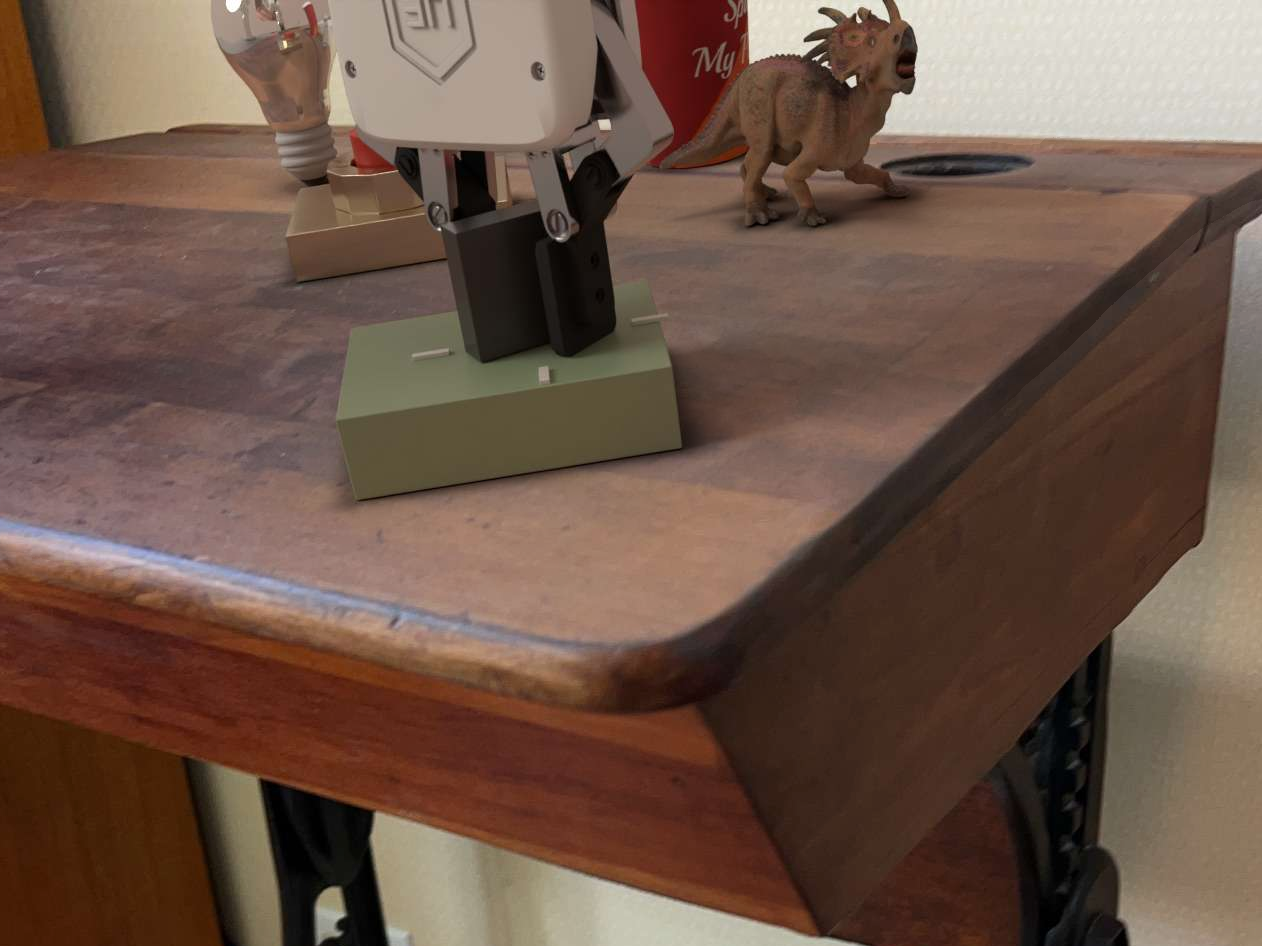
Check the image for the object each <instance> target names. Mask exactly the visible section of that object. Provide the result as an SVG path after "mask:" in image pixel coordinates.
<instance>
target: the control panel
mask: <svg viewBox="0 0 1262 946" xmlns="http://www.w3.org/2000/svg"><path fill="white" fill-rule="evenodd" d="M613 291H614V298H615V313H616V327H615V329H614V331H613V332H612V333H610V334H609V335H607V336H605V337H604V338H602V339H600V340H599V341H597V342H595V343H594V344H592V345H590V346H589V347H587V348H585V349H584V350H582V351H580V352H579V353H577V354H575V355H574V356H571V357H568V356H560V355H557V354H556V353H555V351H554V350H553V349H552V347H551V342H550V343H546V344H543V345H539V346H536V347H533V348H529V349H526V350H523V351H519V352H516V353H512V354H509V355H506V356H502V357H499V358H496V359H492V360H489V361H485V362H482V363H481V362H479V361H478V360H477V359H475V358H474V357H472V356H471V355H470V354H468V353H467V352H466V351H465V346H464V341H463V336H462V331H461V326H460V321H459V316H458V311H457V310H455V311H448V312H441V313H435V314H430V315H424V316H418V317H412V318H404V319H399V320H393V321H386V322H380V323H374V324H367V325H362V326H356V327H351V329H350V333H349V340H348V344H347V350H346V357H345V362H344V363H345V364H344V368H343V372H342V373H343V375H342V380H341V384H340V385H341V387H340V390H339V391H340V392H339V398H338V404H337V410H336V414H335V426H336V428H337V432H338V436H339V440H340V444H341V448H342V451H343V456H344V458H345V459H344V460H345V463H346V467H347V471H348V475H349V479H350V483H351V487H352V490H353V494H354V498H355V500H356V501H359V500H366V499H372V498H379V497H384V496H385V497H386V496H391V495H398V494H403V493H404V494H405V493H409V492H416V491H422V490H429V489H434V488H441V487H448V486H454V485H460V484H466V483H473V482H478V481H479V482H480V481H484V480H485V481H486V480H490V479H498V478H503V477H509V476H516V475H523V474H528V473H535V472H540V471H546V470H547V471H548V470H553V469H559V468H566V467H572V466H579V465H585V464H591V463H598V462H604V461H609V460H617V459H623V458H628V457H635V456H642V455H648V454H654V453H661V452H667V451H671V450H678V449H682V448H683V442H682V436H681V435H682V434H681V426H680V418H679V411H678V410H679V409H678V401H677V395H676V385H675V378H674V377H675V376H674V369H673V363H672V360H671V357H670V353H669V350H668V345H667V343H666V339H665V336H664V332H663V328H662V325H661V322H665V321H669V320H670V316H669V312H664V313H658V310H657V306H656V303H655V299H654V296H653V292H652V289H651V285H650V281H649V280H641V281H640V280H639V281H635V282H628V283H622V284H615V285H613Z"/></svg>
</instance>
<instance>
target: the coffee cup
mask: <svg viewBox="0 0 1262 946" xmlns="http://www.w3.org/2000/svg"><path fill="white" fill-rule="evenodd" d="M634 1H635V8H636V15H637V22H638V30H639V39H640V50H641V63H642V70H643V71H644V73H645V75H646V77H647V79H648V81H649V82H650V84H651V86H652V88H653V90H654V92H655V94H656V95H657V97H658V99H659V101H660V103H661V105H662V106H663V108H664V110H665V112H666V114H667V116H668V117H669V119H670V121H671V123H672V126H673V129H674V137H673V141H672V142H671V143H670V145H669V146H667V147H666V148H665V149H664V150H663V151H661V152H660V153H659V154H658V155H656V156H655V157H654V158H653V159H652V160H650V161H649V162H648V163H647V164H648V165H649V166H652V167H656V168H660V165H661V162H662V161H663V160H664V159H665V157H668V156H669V155H670V154H672V153H673V152H675V151H677V150H678V149H679V148H682V145H684V144H688V142H690V141H694V139H695V138H697V137H698V134H700V133H701V132H702V131H703V130H704V127H705V126H706V125H707V123H708V121H709V120H711V119H710V118H711V116H712V115H714V110H716V109H717V108H716V106H717V105H718V104H720V101H721V99H722V98H723V94H724V93H726V92H727V89H729V88H730V85H729V84H730V83H734V81H733V79H734V78H737V74H738V73H739V74H741V70H742V69H744V70H745V69H746V66H749V65H750V64H751V63H750V40H749V39H750V38H749V36H750V35H749V5H748V1H749V0H634ZM749 149H750V147H748V146H739V147H735V148H733V149H731V150H729V151H727V152H726V153H724V154H722V155H720V156H718V157H715V158H714V159H712V160H710V161H708V162H706V163H702V164H696V165H678V166H672V167H670V168H669V169H689V168H697V167H703V166H710V165H714V164H718V163H722V162H726V161H730V160H732V159H735V158H738V157H740V156H743V155H744V154H745V153H747V152H748V151H749Z"/></svg>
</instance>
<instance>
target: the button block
mask: <svg viewBox="0 0 1262 946" xmlns="http://www.w3.org/2000/svg"><path fill="white" fill-rule="evenodd" d="M455 155H456V156H457V157H458V158H459V156H458V153H455ZM505 157H506V156H505V155H498V156H495V167H496V180H497V192H498V202H497V205H496V210H498V209H502V208H506V207H509V206H513V205H514V204H513V197H512V190H511V185H510V180H509V173H508V168H507V162H506V158H505ZM327 179H328V183H325V184H318V185H311V186H306V187H301V188H299V191H298V194H297V198H296V201H295V204H294V207H293V209H292V213H291V217H290V220H289V223H288V225H287V226H288V227H287V229H286V233H285V235H284V237H285V241H286V245H287V248H288V252H289V256H290V260H291V263H292V267H293V271H294V275H295V278H296V282H297V283H303V282H309V281H315V280H321V279H327V278H332V277H340V276H344V275H351V274H357V273H364V272H370V271H376V270H383V269H387V268H394V267H400V266H401V267H402V266H407V265H413V264H419V263H426V262H433V261H437V260H444V259H447V257H446V252H445V247H444V242H443V237H442V233H439V232H437V231H435V230H434V229H433V228H432V227H431V226H430V224H429V223H428V221H427V218H426V214H425V208H424V202H423V201H422V200H421V198H420V197H419V196H418V195H417V194H416V193H415V191H414V190H413V189H412V188H411V187H410V186H409V185H408V183H407V182H406V181H405V180H404V179H403V178H402V176H401V175H400V173H399V172H398V169H397V167H396V165H395V166H387V167H381V168H357V166H356V162H355V157H354V153H353V149H352V150H349V151H346V152H345V153H343V154H341V155H339V156H336V158H335V159H333V160H332V161H330V162H329V164H328V167H327Z"/></svg>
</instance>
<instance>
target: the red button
mask: <svg viewBox="0 0 1262 946" xmlns="http://www.w3.org/2000/svg"><path fill="white" fill-rule="evenodd" d="M348 136H349V140H350V144H351V148H352V150H353V153H354V157H355V162H356V166H357V168H381V167H387V166H393V165H391V164H390V163H389V162H387V161H386V160H385V159H384V158H382V157H381V156H380V155H378V154H377V153H376V152H375V151H373V150H372V149H371V148H369V147H368V146H367V145H366V144H364V143H363V142H362V141H361V140H360V138H359V136H358V134H357V131H356V127H354V128H353V129H351V130H350V131H349V135H348Z"/></svg>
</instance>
